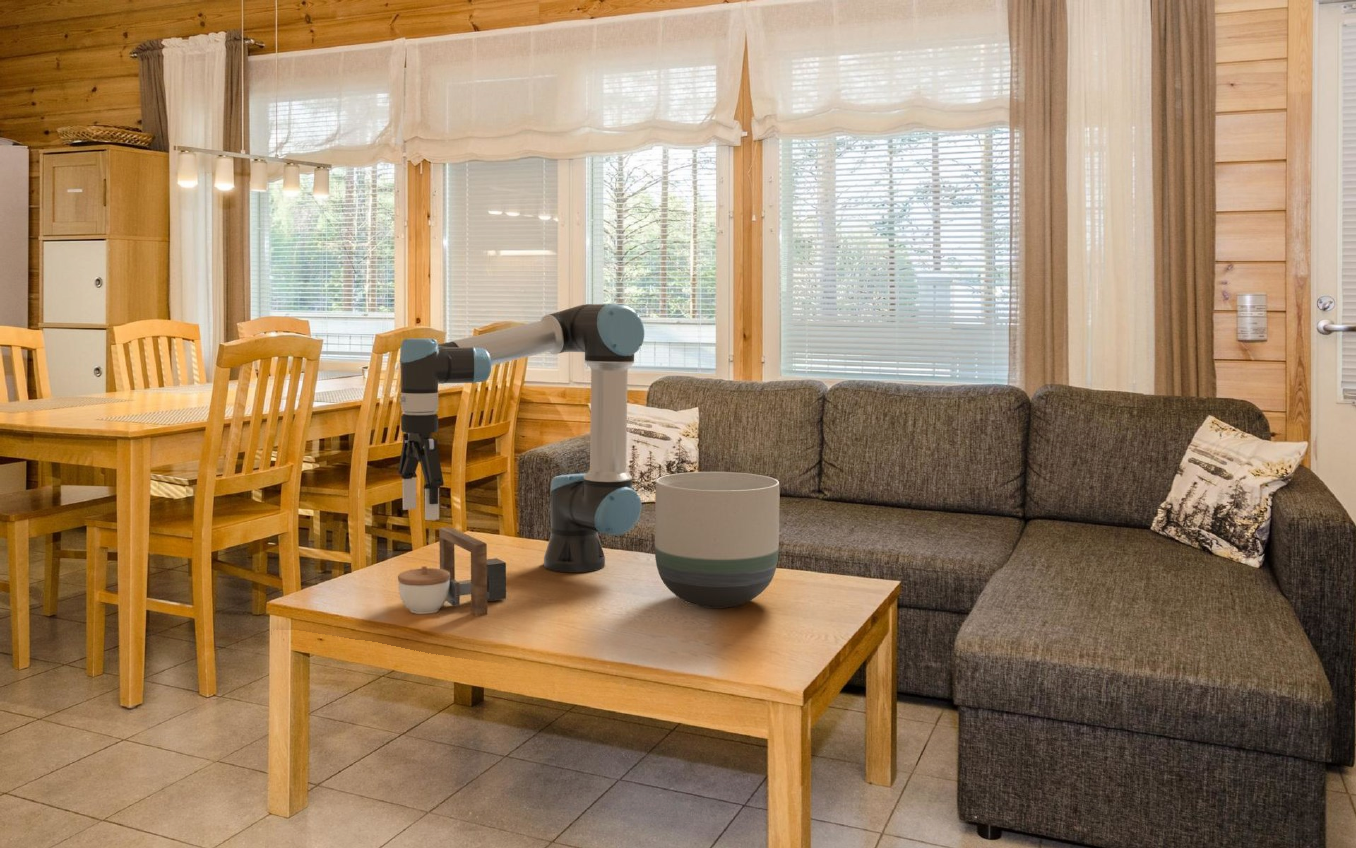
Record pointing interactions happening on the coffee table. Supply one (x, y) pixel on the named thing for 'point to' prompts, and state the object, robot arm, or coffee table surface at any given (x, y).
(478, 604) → the bridge
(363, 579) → the coffee table surface
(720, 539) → the planter
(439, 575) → the lidded jar
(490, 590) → the cube and plate dumbbell
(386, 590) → the coffee table surface
